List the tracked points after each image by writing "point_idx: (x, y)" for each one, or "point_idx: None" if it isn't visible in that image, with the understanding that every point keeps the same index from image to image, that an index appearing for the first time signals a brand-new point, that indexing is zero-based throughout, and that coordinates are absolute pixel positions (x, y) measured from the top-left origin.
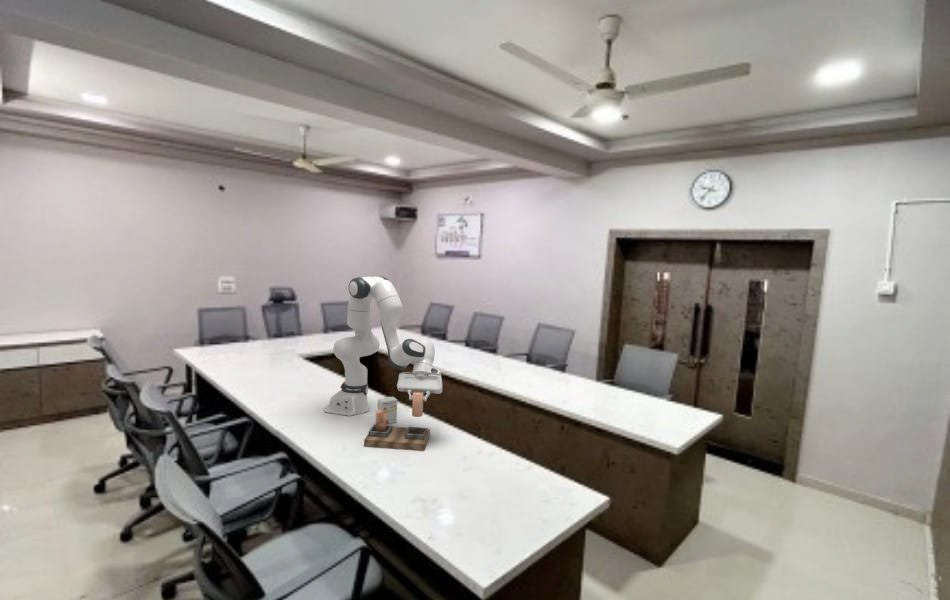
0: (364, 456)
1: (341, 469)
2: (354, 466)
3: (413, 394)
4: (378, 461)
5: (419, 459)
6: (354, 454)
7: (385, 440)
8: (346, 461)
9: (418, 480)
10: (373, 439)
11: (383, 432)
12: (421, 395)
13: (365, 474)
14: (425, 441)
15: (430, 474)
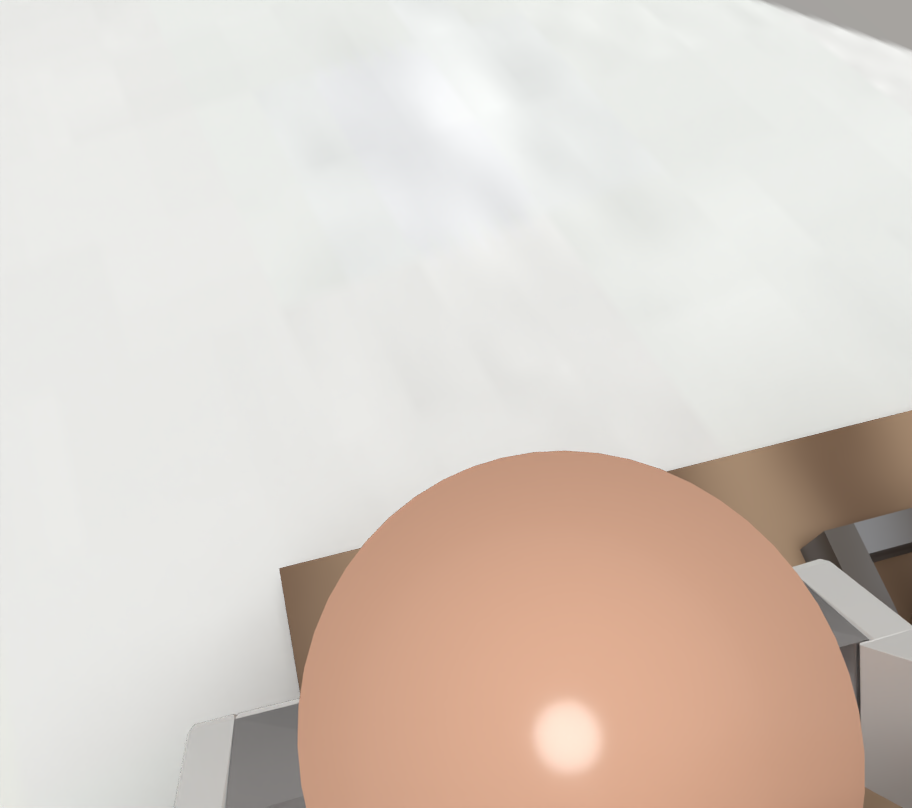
0: (782, 256)
1: (780, 48)
2: (730, 106)
3: (707, 510)
4: (612, 227)
5: (277, 390)
6: (887, 254)
7: (768, 463)
8: (844, 142)
9: (172, 106)
10: (906, 430)
11: (890, 525)
12: (341, 600)
13: (578, 51)
14: (292, 644)
15: (102, 201)
